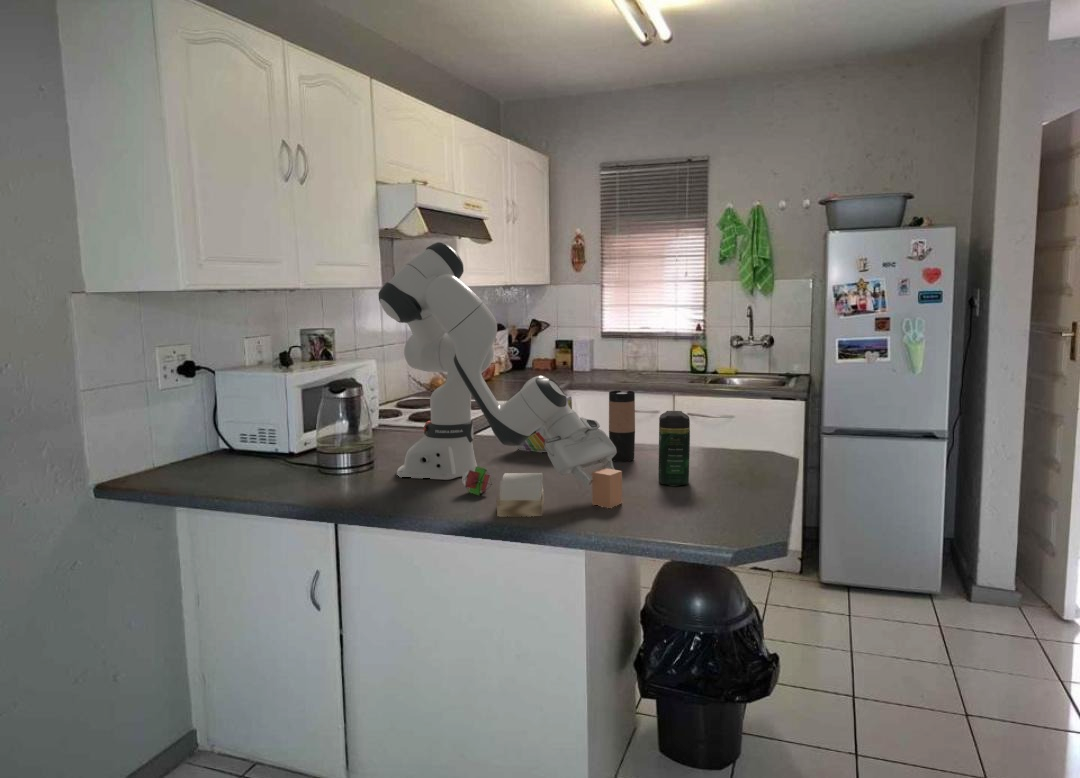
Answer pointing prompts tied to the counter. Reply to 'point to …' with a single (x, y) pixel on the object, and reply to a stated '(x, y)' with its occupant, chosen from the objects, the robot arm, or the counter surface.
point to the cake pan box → (539, 437)
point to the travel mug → (622, 424)
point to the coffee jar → (674, 448)
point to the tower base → (520, 507)
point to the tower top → (521, 486)
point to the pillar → (607, 487)
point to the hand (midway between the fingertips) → (602, 479)
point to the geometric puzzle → (476, 480)
